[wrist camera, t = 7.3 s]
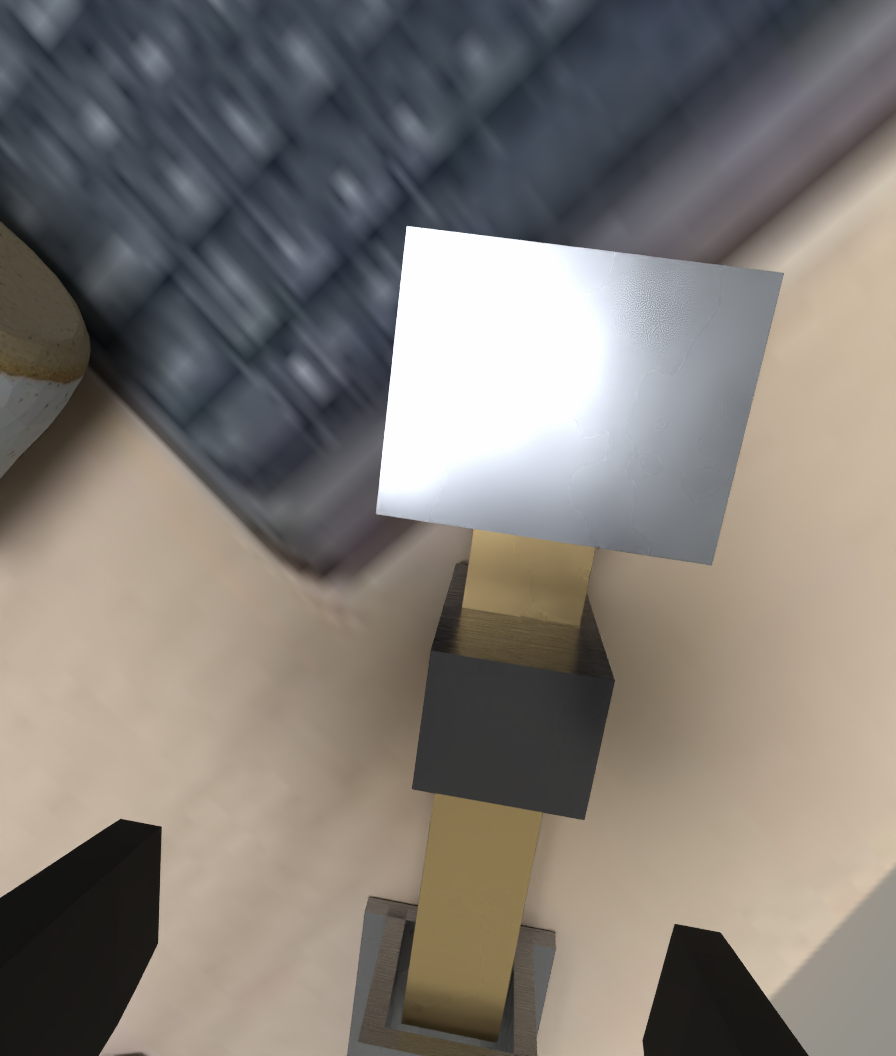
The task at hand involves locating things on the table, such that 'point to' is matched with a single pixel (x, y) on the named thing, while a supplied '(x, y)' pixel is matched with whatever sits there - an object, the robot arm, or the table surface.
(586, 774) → the two-tone block
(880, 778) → the table surface
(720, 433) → the grey square bracket
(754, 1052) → the robot arm
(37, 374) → the ceramic mug
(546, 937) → the steel sleeve
